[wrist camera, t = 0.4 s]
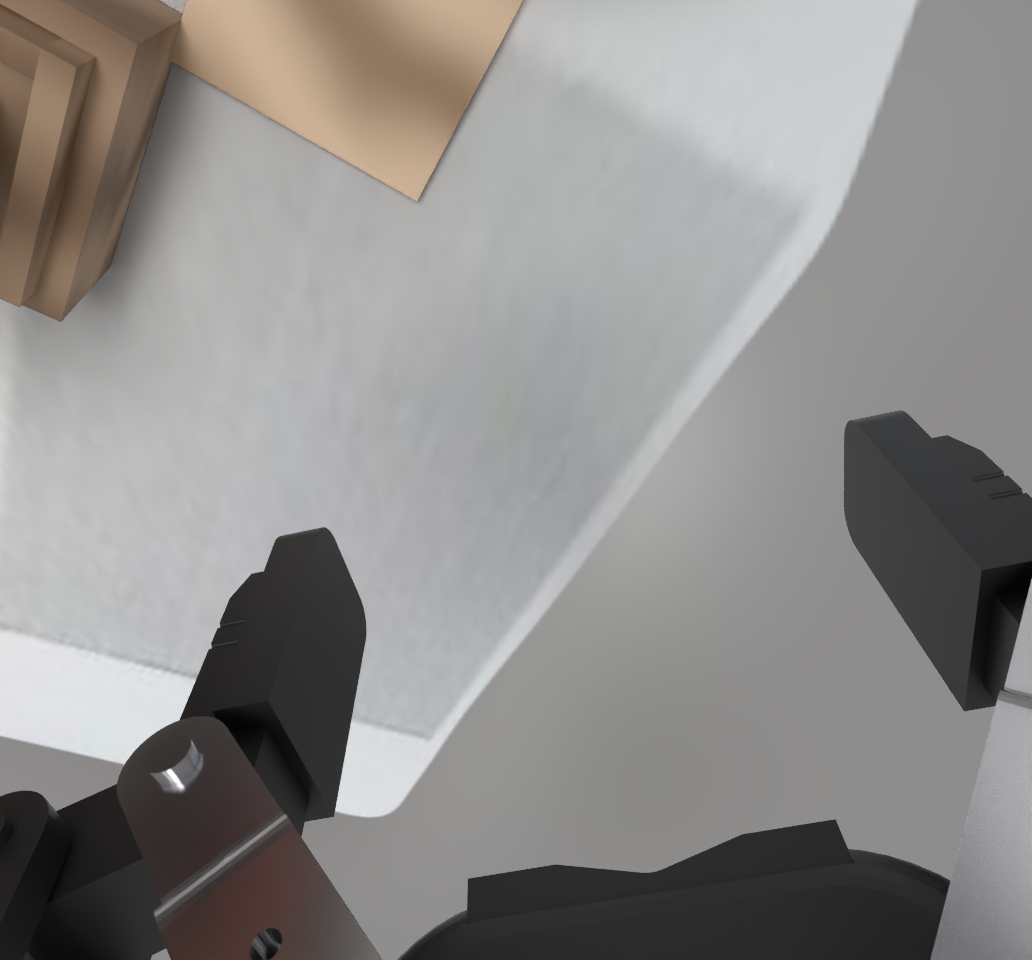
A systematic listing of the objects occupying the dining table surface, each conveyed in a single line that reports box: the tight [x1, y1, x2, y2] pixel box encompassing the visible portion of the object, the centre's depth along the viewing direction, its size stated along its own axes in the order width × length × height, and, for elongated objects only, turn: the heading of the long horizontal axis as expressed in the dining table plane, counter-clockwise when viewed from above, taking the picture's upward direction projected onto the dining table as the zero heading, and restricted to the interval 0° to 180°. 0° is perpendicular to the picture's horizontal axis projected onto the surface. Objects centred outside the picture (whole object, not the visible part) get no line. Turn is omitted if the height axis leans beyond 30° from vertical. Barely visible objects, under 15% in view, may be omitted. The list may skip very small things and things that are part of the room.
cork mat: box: [169, 0, 523, 201], centre depth 28 cm, size 10×10×1 cm
